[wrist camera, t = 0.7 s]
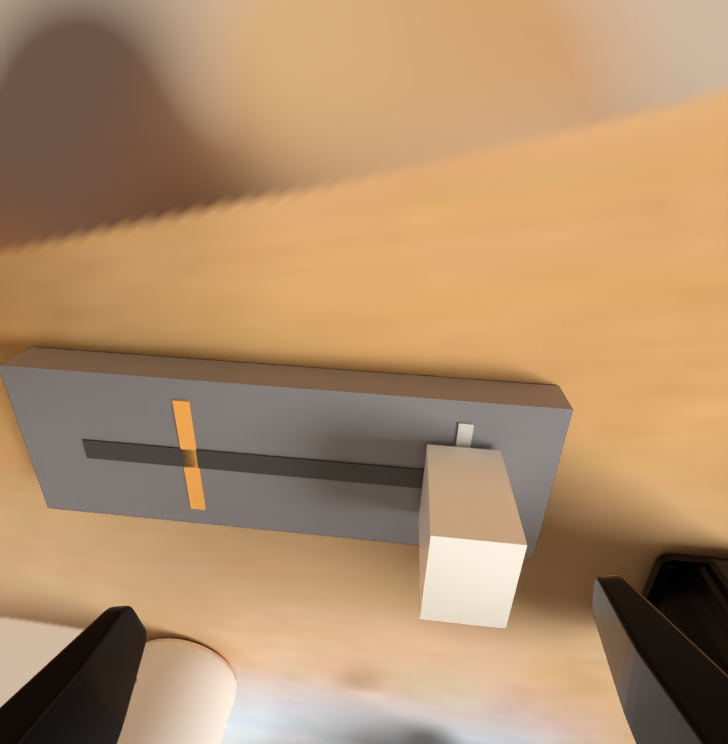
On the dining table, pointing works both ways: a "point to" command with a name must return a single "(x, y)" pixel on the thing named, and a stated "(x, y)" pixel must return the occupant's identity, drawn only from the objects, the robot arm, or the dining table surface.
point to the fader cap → (468, 538)
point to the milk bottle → (179, 695)
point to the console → (270, 440)
